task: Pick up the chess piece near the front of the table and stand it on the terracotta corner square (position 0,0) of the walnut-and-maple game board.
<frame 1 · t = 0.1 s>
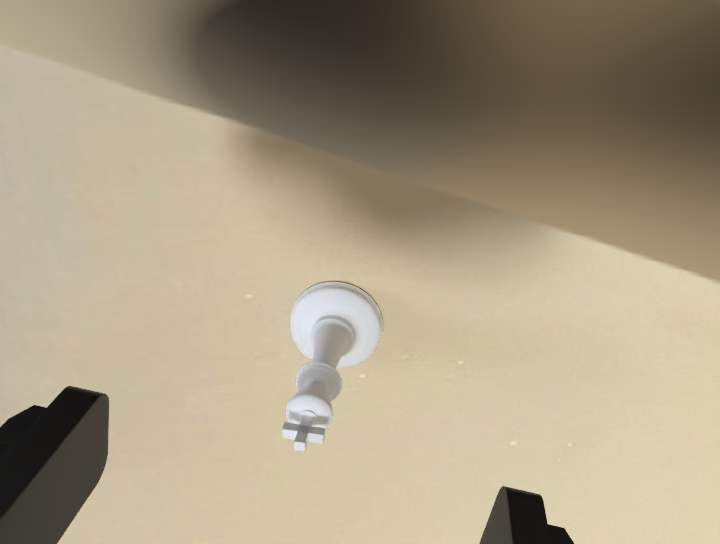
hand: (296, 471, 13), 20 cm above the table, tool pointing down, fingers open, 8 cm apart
chess piece: (337, 321, 35), on the table
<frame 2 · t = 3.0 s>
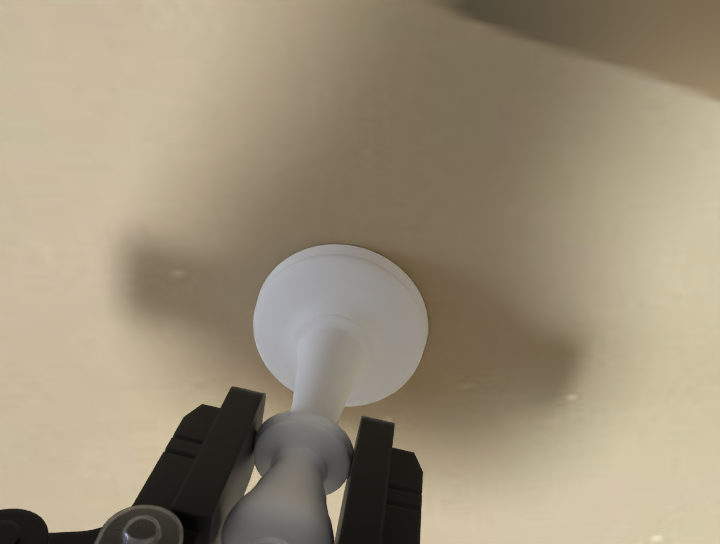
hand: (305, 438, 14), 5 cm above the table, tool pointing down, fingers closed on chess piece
chess piece: (342, 320, 19), on the table, touching gripper
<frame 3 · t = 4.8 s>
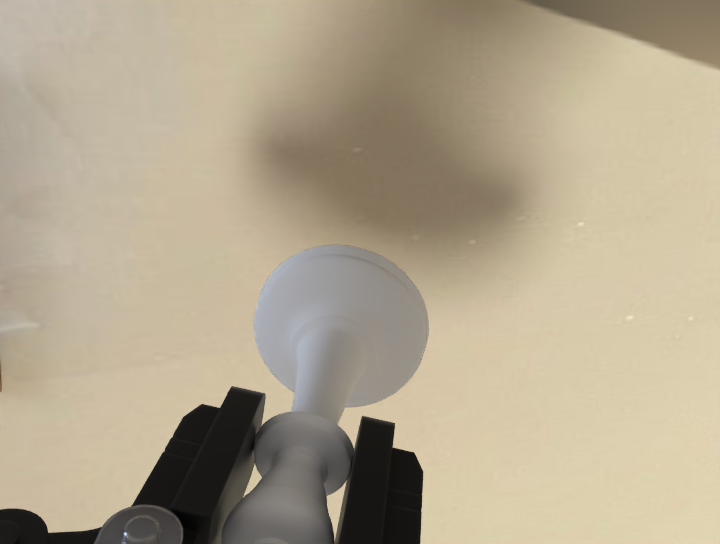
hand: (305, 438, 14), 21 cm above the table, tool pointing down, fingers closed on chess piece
chess piece: (342, 320, 19), point 16 cm above the table, touching gripper
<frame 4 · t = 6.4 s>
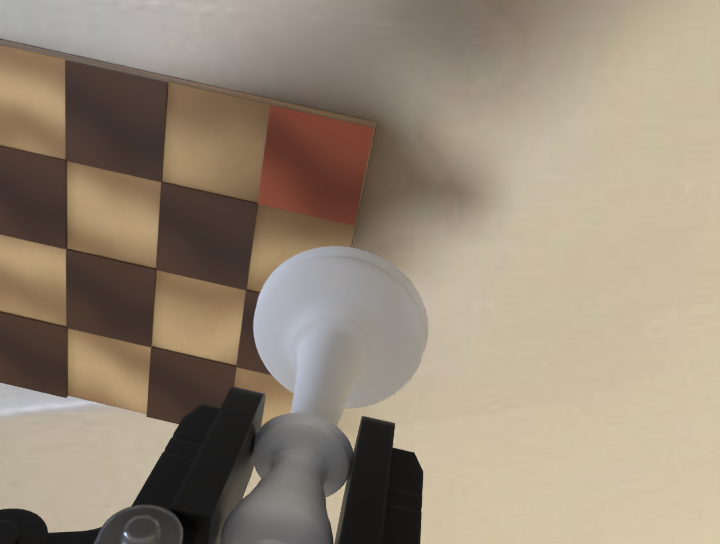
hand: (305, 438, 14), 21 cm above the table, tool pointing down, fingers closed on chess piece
game board: (165, 259, 36), on the table
chess piece: (342, 321, 19), point 16 cm above the table, touching gripper
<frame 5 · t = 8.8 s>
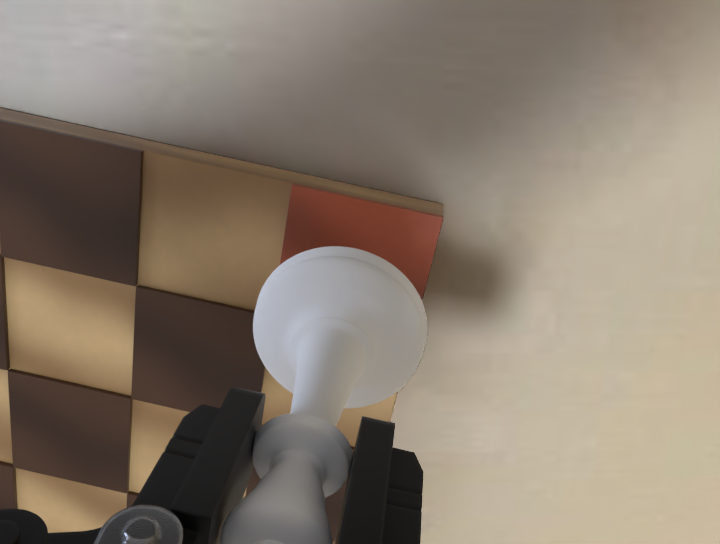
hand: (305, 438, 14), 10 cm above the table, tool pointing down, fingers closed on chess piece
game board: (145, 378, 27), on the table
chess piece: (341, 322, 19), point 5 cm above the table, touching gripper
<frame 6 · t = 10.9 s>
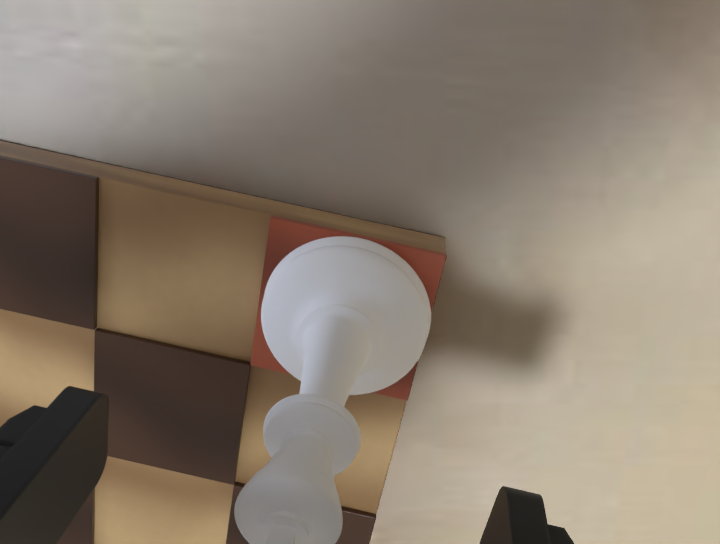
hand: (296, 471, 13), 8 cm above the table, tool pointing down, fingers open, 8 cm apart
game board: (111, 427, 24), on the table
chess piece: (347, 310, 19), point 1 cm above the table, touching game board
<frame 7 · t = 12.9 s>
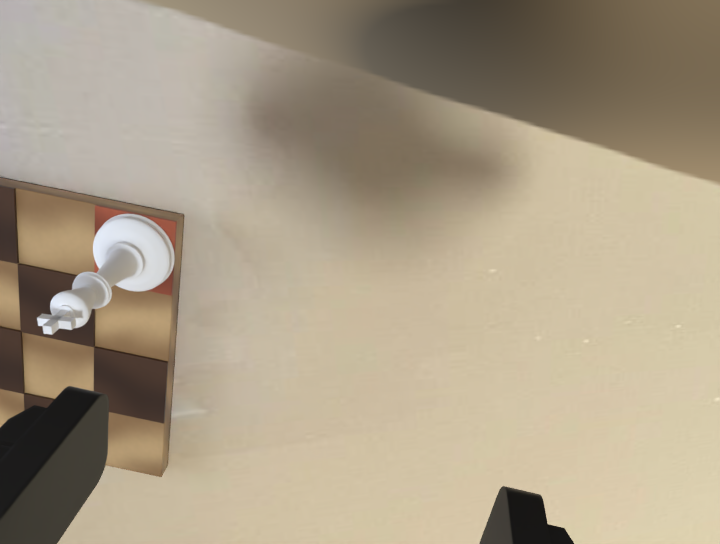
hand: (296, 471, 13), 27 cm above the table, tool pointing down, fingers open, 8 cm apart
game board: (32, 322, 45), on the table
chess piece: (137, 250, 40), point 1 cm above the table, touching game board
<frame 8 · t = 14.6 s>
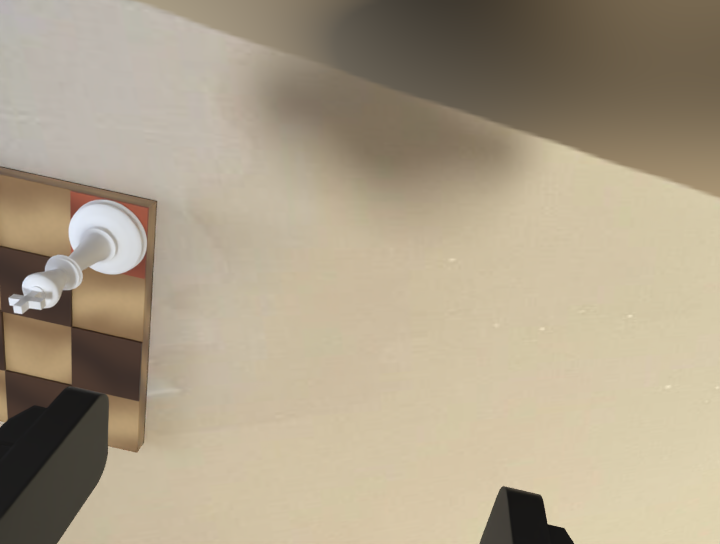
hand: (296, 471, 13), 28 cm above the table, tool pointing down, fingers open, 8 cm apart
game board: (13, 302, 46), on the table
chess piece: (111, 235, 42), point 1 cm above the table, touching game board
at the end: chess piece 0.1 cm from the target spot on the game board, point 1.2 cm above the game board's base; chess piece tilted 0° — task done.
